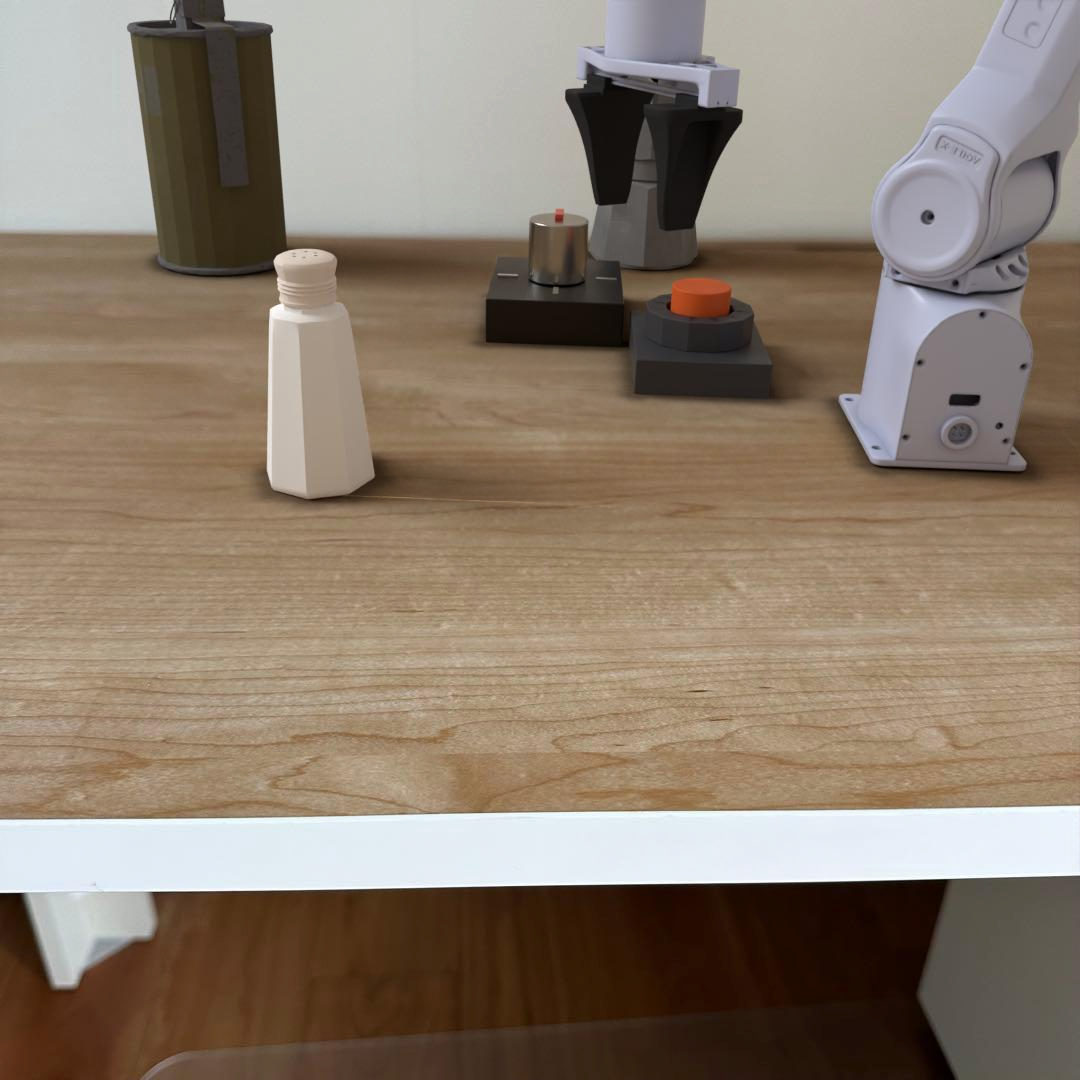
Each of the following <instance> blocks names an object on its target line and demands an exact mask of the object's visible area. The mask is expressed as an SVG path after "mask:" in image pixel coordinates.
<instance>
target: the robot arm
mask: <svg viewBox="0 0 1080 1080" xmlns="http://www.w3.org/2000/svg"><path fill="white" fill-rule="evenodd" d="M1003 1H1004V2H1003V3H1002V5H1001V7H1000V9H999V11H998V14H997V15H996V18H995V20H994V22H993V24H992V26H991V28H990V31H989V33H988V35H987V37H986V39H985V40H984V44H983V45H982V48H981V50H980V52H979V53H978V56H977V58H976V60H975V62H974V64H973V66H972V68H971V69H970V70H969V72H968V73H967V74H966V76H964V78H962V79H961V81H960V82H959V83H958V84H957V85H956V87H954V89H953V90H951V92H950V93H949V94H948V95H947V96H946V98H945V99H944V100H942V102H940V104H939V105H938V106H937V107H936V109H935V110H934V111H933V112H932V114H931V115H930V117H929V119H928V121H927V122H926V125H925V127H924V130H923V132H922V134H921V136H920V137H919V139H918V141H917V142H916V144H914V146H913V147H912V149H911V150H909V151H908V153H906V154H905V155H904V156H903V157H902V158H900V159H899V160H898V161H896V162H895V163H894V164H893V165H892V166H891V167H890V168H889V169H888V170H887V171H886V173H884V175H883V177H882V178H881V180H880V181H879V183H878V185H877V186H876V190H875V192H874V194H873V198H872V201H871V207H870V228H871V234H872V238H873V239H874V240H873V241H874V243H875V245H876V248H877V250H878V251H879V253H880V255H881V256H882V258H883V262H882V268H881V269H882V270H881V274H880V281H879V287H878V291H877V298H876V302H875V303H876V304H875V308H874V309H875V310H874V316H873V321H872V326H871V327H872V328H871V333H870V339H869V345H868V351H867V357H866V363H865V368H864V373H863V379H862V386H861V392H860V394H859V393H842V394H840V395H839V396H838V404H839V405H840V407H841V409H842V411H843V413H844V415H845V416H846V418H847V421H848V422H849V424H850V426H851V428H852V429H853V431H854V434H855V436H856V437H857V439H858V440H859V443H860V444H861V446H862V448H863V449H864V452H865V454H866V456H867V457H868V459H869V461H870V463H871V464H873V465H875V466H880V467H897V468H898V467H900V468H923V469H925V468H926V469H946V470H947V469H948V470H972V471H973V470H974V471H976V470H977V471H997V472H998V471H999V472H1023V471H1025V470H1026V468H1027V463H1028V462H1027V461H1026V460H1025V459H1024V457H1023V456H1022V455H1021V454H1020V452H1019V451H1018V450H1017V448H1015V447H1014V442H1015V436H1016V435H1017V434H1016V433H1017V430H1018V425H1019V421H1020V417H1021V413H1022V409H1023V405H1024V400H1025V397H1026V392H1027V388H1028V384H1029V381H1030V377H1031V372H1032V368H1033V362H1034V348H1033V342H1032V339H1031V336H1030V334H1029V331H1028V330H1027V327H1026V326H1025V325H1024V324H1025V323H1023V320H1022V316H1021V308H1022V304H1023V299H1024V295H1025V291H1026V286H1027V281H1028V277H1029V273H1030V268H1029V261H1028V260H1029V259H1028V256H1027V250H1026V249H1027V245H1029V244H1031V243H1032V242H1033V241H1035V240H1037V238H1038V237H1040V236H1041V235H1042V234H1043V233H1044V232H1045V230H1046V229H1047V228H1048V226H1049V225H1050V224H1051V222H1052V220H1053V219H1054V217H1055V215H1056V212H1057V209H1058V207H1059V203H1060V200H1061V191H1062V173H1063V168H1064V164H1065V161H1066V159H1067V156H1068V154H1069V152H1070V150H1071V148H1072V147H1073V144H1074V142H1075V141H1076V139H1077V137H1078V134H1079V126H1080V125H1079V124H1080V123H1079V122H1080V121H1079V120H1080V119H1079V118H1080V117H1079V116H1080V0H1003ZM706 7H707V0H606V11H605V33H604V34H605V35H604V45H595V46H593V45H588V46H578V47H577V53H576V54H577V55H576V57H577V59H576V62H577V63H576V79H577V80H580V81H586V83H583V86H582V87H577V88H576V87H574V88H566V89H565V90H564V101H565V103H566V104H567V106H568V108H569V110H570V112H571V114H572V116H573V119H574V121H575V124H576V126H577V128H578V131H579V134H580V138H581V142H582V144H583V148H584V154H585V157H586V162H587V169H588V173H589V178H590V184H591V190H592V195H593V199H594V203H595V205H596V206H598V205H599V206H605V205H616V204H627V201H628V197H629V194H630V190H631V185H632V178H633V171H634V163H635V155H636V149H637V144H638V140H639V135H640V132H641V128H642V125H643V122H644V119H645V117H646V120H647V123H648V126H649V130H650V133H651V138H652V142H653V147H654V153H655V161H656V170H657V215H658V222H659V228H660V229H661V230H664V231H675V230H684V229H693V227H694V224H695V222H696V221H697V218H698V215H699V212H700V209H701V207H702V203H703V201H704V197H705V194H706V191H707V188H708V185H709V183H710V180H711V177H712V175H713V173H714V170H715V168H716V166H717V164H718V162H719V160H720V157H721V156H722V154H723V152H724V150H725V148H726V146H727V145H728V143H729V142H730V141H731V139H732V137H733V136H734V135H735V133H736V131H737V130H738V128H740V126H741V125H742V123H743V119H744V117H743V116H744V110H743V109H742V108H738V107H737V105H738V95H739V86H740V85H739V84H740V75H741V70H740V69H739V68H735V67H729V66H726V65H723V64H720V63H717V62H716V57H715V56H712V55H706V54H703V43H704V33H705V32H704V31H705V30H704V29H705V21H706V20H705V18H706ZM627 76H636V77H644V78H653V79H658V83H656V82H651V81H646V80H642V79H637V78H632V77H627ZM671 85H675V86H671ZM655 94H660V95H665V96H669V97H674V98H675V104H673V103H666V104H650V103H651V101H652V99H653V97H654V95H655Z"/></svg>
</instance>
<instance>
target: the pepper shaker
mask: <svg viewBox="0 0 1080 1080" xmlns="http://www.w3.org/2000/svg"><path fill="white" fill-rule="evenodd" d="M274 266H275V268H274V269H275V271H276V274H277V278H276V281H277V283H276V284H277V290H278V291H279V297H278V300H279V304H277V305H274V306H273V307H271V308H270V309H269V320H268V364H267V365H268V367H267V368H268V371H267V430H266V431H267V439H266V443H267V444H266V472H267V475H268V479H269V483H270V487H271V489H272V490H273V491H276V492H279V493H283V494H287V495H290V496H295V497H297V498H301V499H305V500H312V499H314V500H315V499H321V498H331V497H339V496H348V495H350V494H352V493H354V492H355V491H357V490H358V489H359V488H361V487H362V486H364V485H365V484H367V483H369V482H370V481H372V480H374V478H375V477H376V474H375V468H374V462H373V457H372V456H373V455H372V449H371V443H370V436H369V431H368V424H367V417H366V412H365V411H366V410H365V406H364V399H363V393H362V386H361V379H360V373H359V367H358V366H359V365H358V361H357V360H358V359H357V354H356V348H355V341H354V335H353V330H352V323H351V319H350V315H349V312H348V310H347V308H346V306H345V304H343V303H342V302H341V301H337V300H338V296H337V294H336V293H337V292H336V290H337V288H338V286H337V284H338V282H337V276H336V270H337V266H338V258H337V257H336V256H335V254H333V253H331V252H328V251H326V250H322V249H317V248H296V249H289V251H286V252H283V253H281V254H279V255H277V256H276V258H275V259H274Z"/></svg>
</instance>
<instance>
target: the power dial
mask: <svg viewBox="0 0 1080 1080" xmlns="http://www.w3.org/2000/svg"><path fill="white" fill-rule="evenodd" d="M528 225H529V226H528V257H527V258H528V277H529V279H530V280H532V281H534V282H537V283H540V284H546V285H558V286H562V285H574V284H578V283H581V282H583V281H585V279H586V265H587V260H588V242H589V219H588V218H587V217H585V216H582V215H578V214H573V213H567V212H566V213H565V209H564V208H555V212H547V213H538V214H535V215H532V216H530V217H529V222H528Z"/></svg>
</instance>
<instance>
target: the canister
mask: <svg viewBox="0 0 1080 1080" xmlns="http://www.w3.org/2000/svg"><path fill="white" fill-rule="evenodd" d="M225 10H226V9H225V2H224V0H173V3H172V6H171V9H170V12H169V19H154V20H153V19H151V20H141V21H134V22H128V24H127V25H126V30H127V32H129V36H130V41H131V42H130V43H131V49H132V55H133V56H132V57H133V64H134V71H135V79H136V87H137V93H138V101H139V109H140V115H141V125H142V131H143V138H144V146H145V153H146V161H147V167H148V168H147V169H148V176H149V184H150V191H151V197H152V205H153V212H154V219H155V220H154V221H155V226H156V228H155V229H156V234H157V235H156V236H157V241H158V251H159V253H158V254H157V262H158V263H159V265H160V266H161V267H163V268H164V269H167V270H170V271H172V272H176V273H179V274H186V275H193V276H227V277H228V276H236V275H237V276H238V275H246V274H254V273H261V272H265V271H270V270H273V269H275V266H274V259H275V258H276V256H277V255H279V254H281V253H283V252H286V251H289V250H290V249H289V247H288V242H287V229H286V228H287V227H286V217H285V216H286V215H285V203H284V189H283V188H284V187H283V177H282V165H281V164H282V163H281V151H280V139H279V137H280V136H279V126H278V124H279V123H278V110H277V99H276V98H277V97H276V87H275V73H274V72H275V71H274V60H273V59H274V58H273V47H272V45H273V44H272V34H273V32H274V28H273V25H272V24H269V23H266V22H259V21H250V20H249V21H248V20H229V19H228V20H227V19H226V11H225ZM173 11H174V13H173ZM172 15H173V17H172Z"/></svg>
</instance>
